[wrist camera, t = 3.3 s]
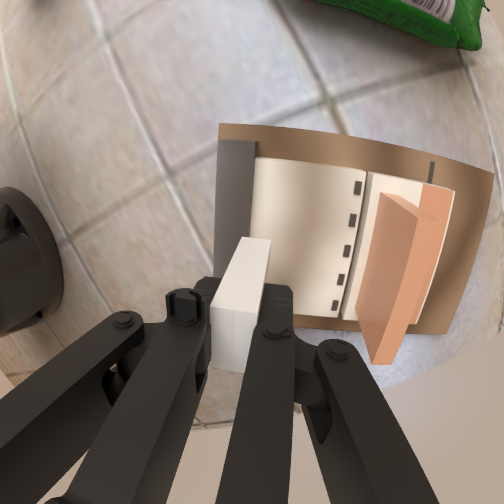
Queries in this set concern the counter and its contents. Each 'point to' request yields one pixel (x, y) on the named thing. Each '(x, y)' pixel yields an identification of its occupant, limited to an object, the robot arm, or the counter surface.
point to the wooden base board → (334, 214)
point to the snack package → (426, 18)
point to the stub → (395, 259)
